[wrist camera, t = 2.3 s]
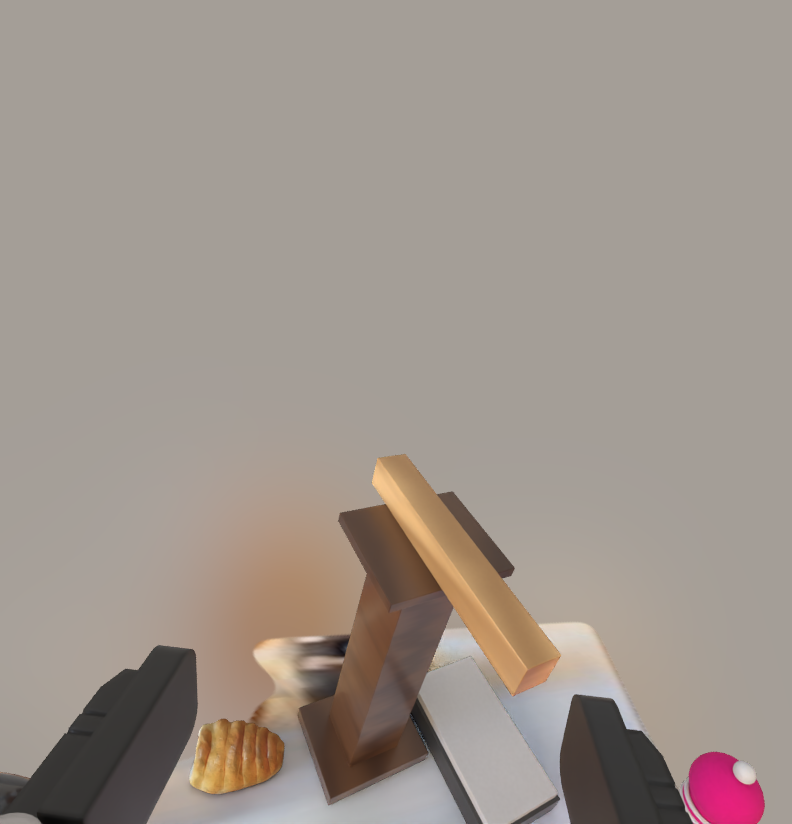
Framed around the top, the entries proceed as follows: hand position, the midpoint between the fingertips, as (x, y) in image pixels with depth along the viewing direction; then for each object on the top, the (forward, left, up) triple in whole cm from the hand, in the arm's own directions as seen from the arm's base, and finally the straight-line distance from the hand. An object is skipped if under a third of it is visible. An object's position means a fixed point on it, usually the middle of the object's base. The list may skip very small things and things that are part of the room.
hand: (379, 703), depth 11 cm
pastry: (+5, +23, -53) cm, 58 cm away
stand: (+19, +20, -53) cm, 60 cm away
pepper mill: (+43, -3, -53) cm, 68 cm away
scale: (+31, +14, -53) cm, 63 cm away
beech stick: (+19, +17, -21) cm, 33 cm away
